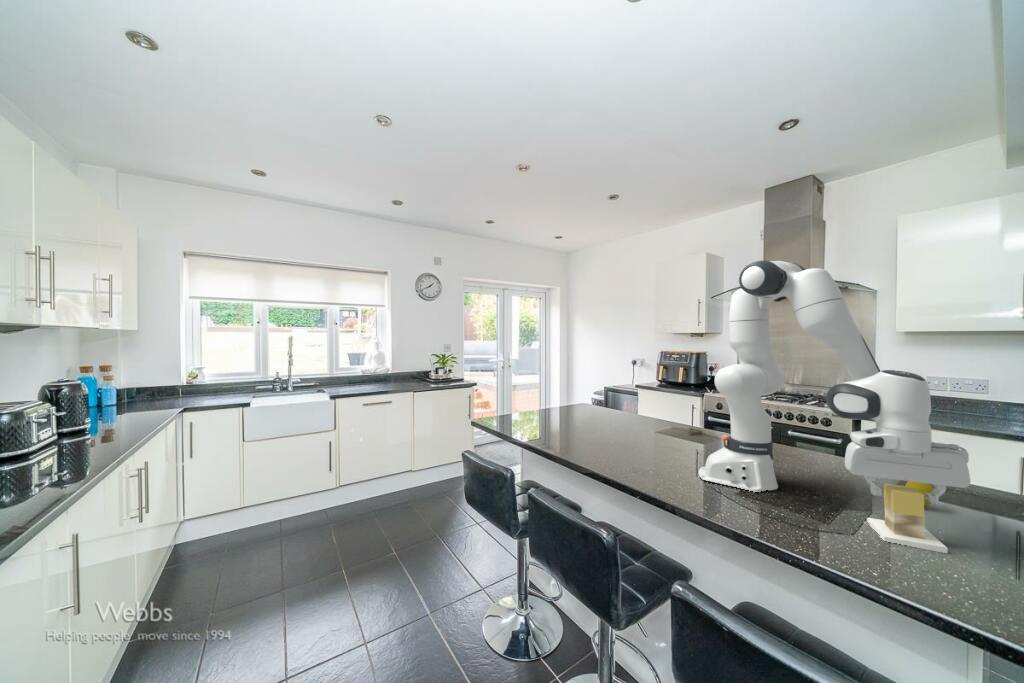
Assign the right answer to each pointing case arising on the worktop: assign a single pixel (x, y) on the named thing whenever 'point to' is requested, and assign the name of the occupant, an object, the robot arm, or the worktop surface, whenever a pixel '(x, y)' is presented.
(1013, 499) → the worktop surface
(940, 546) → the plate
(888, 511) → the beech brick
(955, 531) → the worktop surface
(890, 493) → the mustard brick
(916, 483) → the lemon
